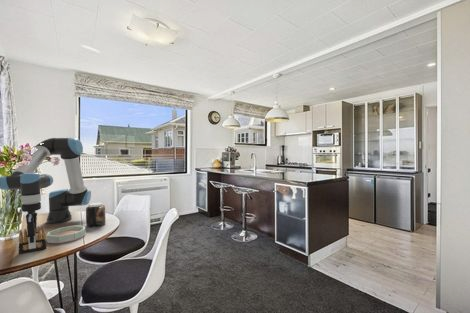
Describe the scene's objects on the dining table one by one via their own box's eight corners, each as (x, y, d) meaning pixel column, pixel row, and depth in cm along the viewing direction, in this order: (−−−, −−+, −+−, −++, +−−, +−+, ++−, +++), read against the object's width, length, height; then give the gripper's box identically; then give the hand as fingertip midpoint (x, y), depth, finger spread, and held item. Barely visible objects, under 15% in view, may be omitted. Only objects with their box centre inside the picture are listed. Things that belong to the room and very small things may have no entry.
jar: (84, 228, 152) (84, 206, 152) (87, 223, 163) (87, 203, 163) (104, 226, 157) (104, 204, 157) (106, 221, 168) (106, 201, 168)
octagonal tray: (48, 235, 139) (48, 229, 139) (85, 229, 150) (85, 223, 150) (44, 246, 124) (44, 239, 124) (86, 238, 135) (86, 231, 135)
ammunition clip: (18, 253, 114) (17, 230, 114) (19, 252, 115) (18, 229, 115) (46, 248, 120) (45, 226, 120) (46, 247, 122) (45, 225, 121)
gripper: (24, 201, 121) (25, 244, 122) (18, 206, 109) (20, 254, 109) (42, 199, 125) (43, 241, 126) (38, 204, 113) (40, 250, 114)
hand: (32, 247), depth 118 cm, fingers closed on ammunition clip, 2 cm apart
